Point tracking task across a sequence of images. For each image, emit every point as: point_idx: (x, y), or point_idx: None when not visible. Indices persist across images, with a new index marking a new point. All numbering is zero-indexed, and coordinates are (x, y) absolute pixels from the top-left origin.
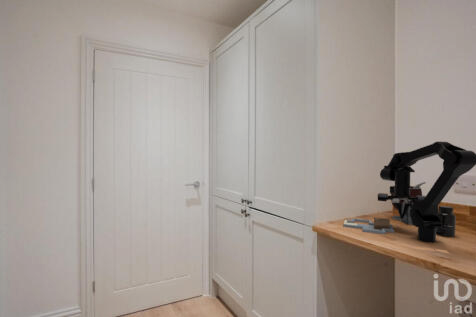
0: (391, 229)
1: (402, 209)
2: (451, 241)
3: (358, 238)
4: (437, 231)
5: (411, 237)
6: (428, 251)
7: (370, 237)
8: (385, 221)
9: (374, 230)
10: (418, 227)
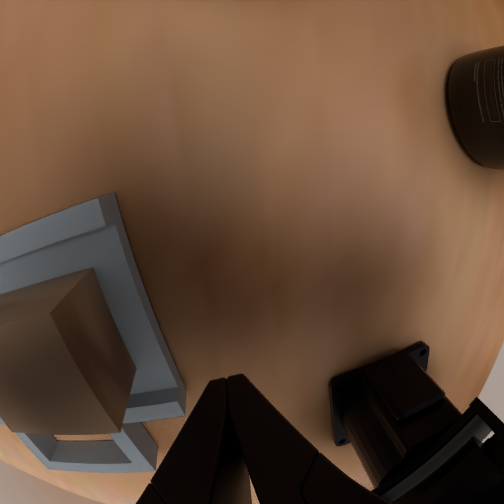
0: (158, 405)
1: (258, 499)
2: (489, 267)
3: (94, 498)
4: (475, 143)
5: (304, 362)
6: (356, 480)
7: (114, 478)
8: (85, 431)
9: (97, 470)
10: (372, 483)
